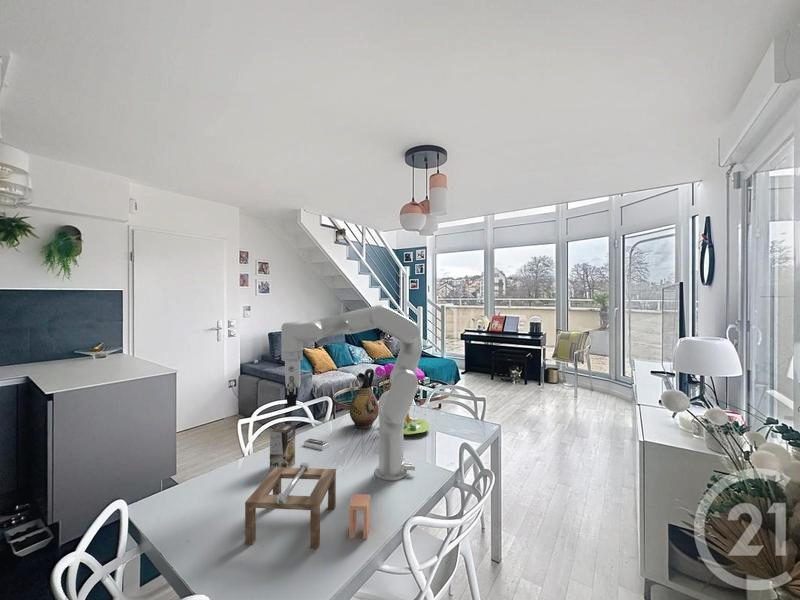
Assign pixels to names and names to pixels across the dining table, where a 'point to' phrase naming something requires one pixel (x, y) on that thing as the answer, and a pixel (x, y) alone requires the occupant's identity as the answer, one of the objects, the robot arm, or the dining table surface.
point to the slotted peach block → (356, 504)
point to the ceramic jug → (364, 402)
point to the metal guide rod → (292, 484)
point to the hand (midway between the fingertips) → (292, 401)
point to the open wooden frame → (292, 499)
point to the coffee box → (282, 446)
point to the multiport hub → (316, 444)
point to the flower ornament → (409, 423)
